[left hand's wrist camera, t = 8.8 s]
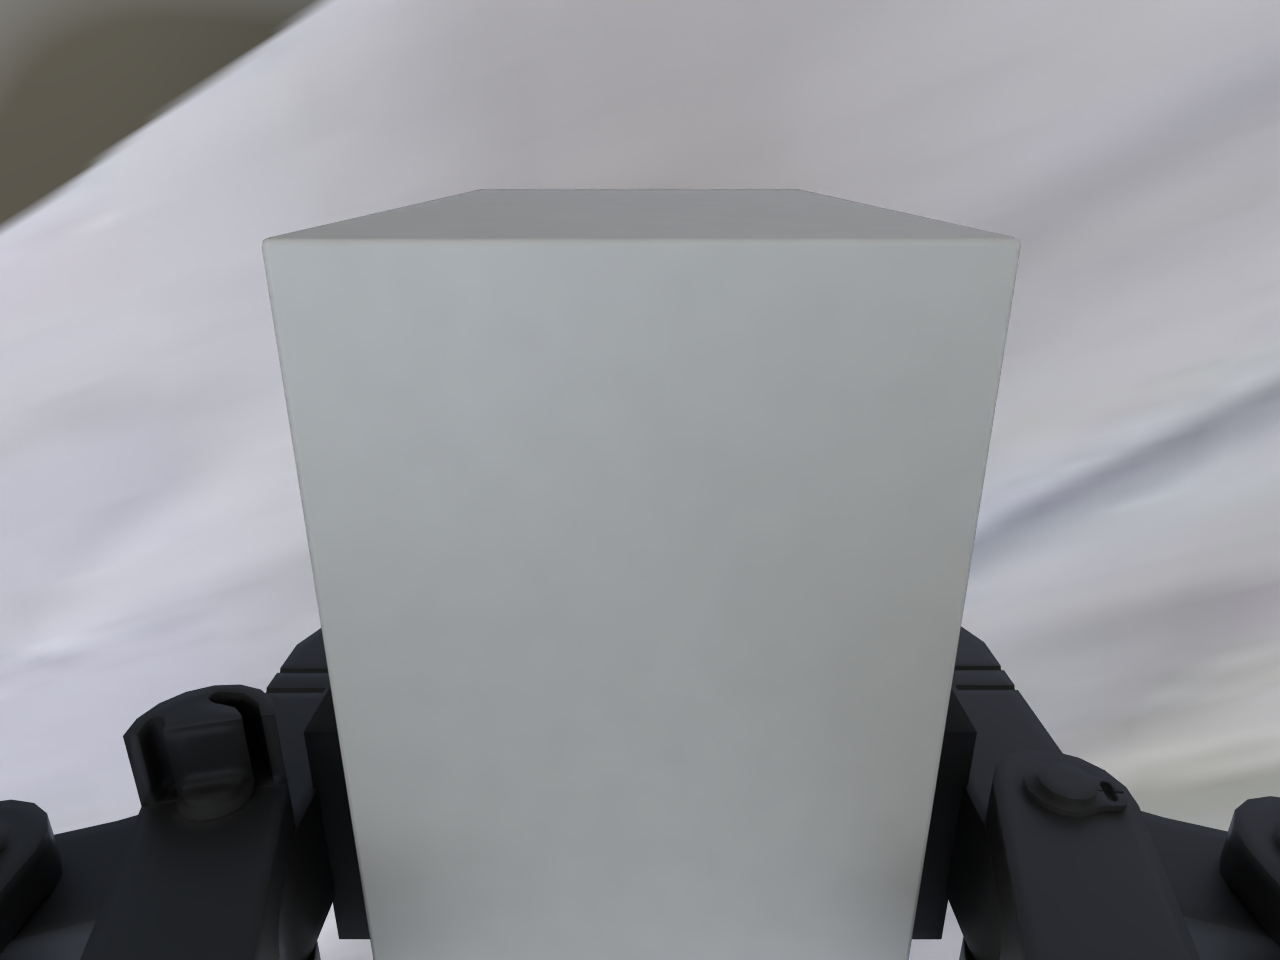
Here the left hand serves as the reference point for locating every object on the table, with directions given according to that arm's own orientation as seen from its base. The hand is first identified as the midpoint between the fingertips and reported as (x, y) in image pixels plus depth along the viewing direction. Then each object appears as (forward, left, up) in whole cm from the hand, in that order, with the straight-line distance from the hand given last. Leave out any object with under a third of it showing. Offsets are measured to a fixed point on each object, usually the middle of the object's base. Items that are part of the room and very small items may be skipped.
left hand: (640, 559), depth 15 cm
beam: (-17, +12, -1) cm, 21 cm away
